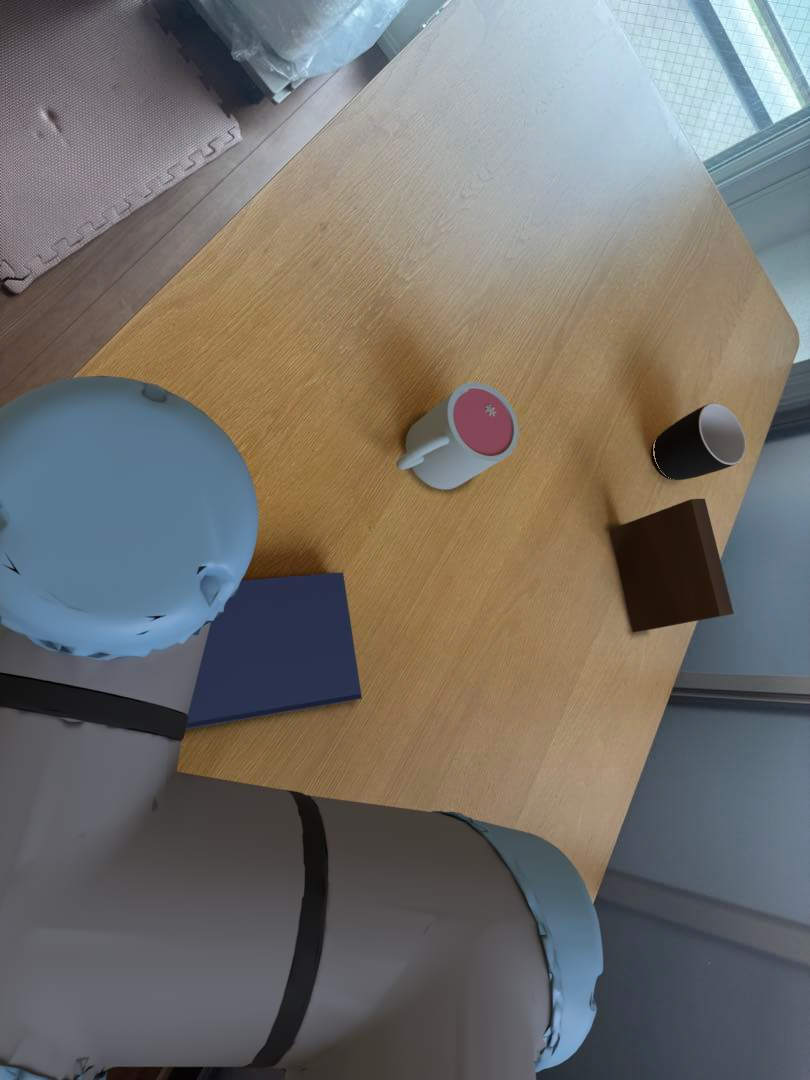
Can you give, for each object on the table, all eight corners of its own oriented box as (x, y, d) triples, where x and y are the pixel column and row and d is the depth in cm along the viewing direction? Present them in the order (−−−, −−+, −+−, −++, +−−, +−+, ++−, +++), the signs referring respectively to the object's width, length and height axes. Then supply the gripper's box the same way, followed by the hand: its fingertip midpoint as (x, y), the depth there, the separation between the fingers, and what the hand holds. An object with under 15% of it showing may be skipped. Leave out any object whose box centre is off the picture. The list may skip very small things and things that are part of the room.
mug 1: (450, 408, 91) (494, 373, 82) (483, 475, 91) (531, 446, 82) (361, 441, 84) (400, 406, 75) (397, 513, 84) (439, 486, 75)
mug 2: (673, 500, 105) (732, 478, 96) (633, 455, 104) (689, 428, 95) (703, 450, 111) (761, 424, 102) (666, 407, 110) (722, 377, 101)
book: (101, 743, 64) (104, 743, 61) (89, 598, 67) (92, 592, 64) (350, 700, 75) (362, 698, 73) (332, 578, 78) (343, 572, 75)
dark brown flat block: (632, 632, 95) (720, 615, 83) (609, 529, 98) (691, 498, 86) (645, 630, 96) (734, 613, 84) (622, 528, 99) (705, 498, 87)
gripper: (224, 508, 35) (151, 594, 55) (-104, 519, 29) (-51, 610, 49) (242, 665, 34) (160, 693, 54) (-99, 711, 27) (-46, 724, 48)
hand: (60, 654), depth 51 cm, fingers closed
